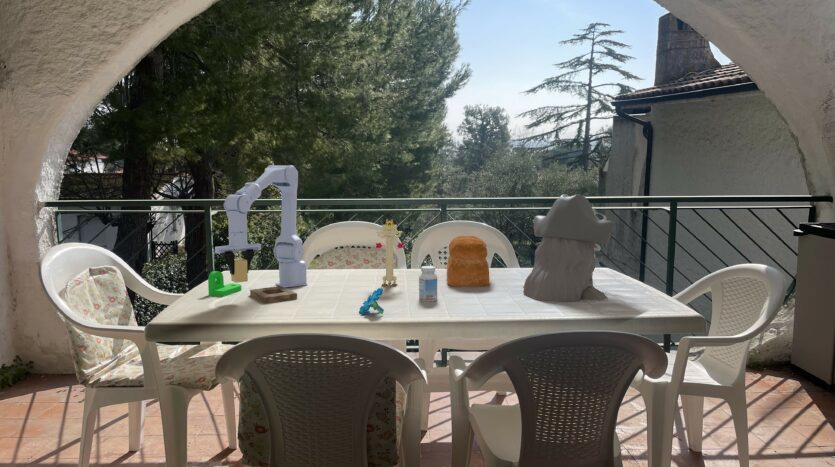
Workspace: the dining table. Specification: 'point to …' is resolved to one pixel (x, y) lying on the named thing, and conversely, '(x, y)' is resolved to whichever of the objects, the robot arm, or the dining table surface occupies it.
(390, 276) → the cat figure
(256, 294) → the brown square frame
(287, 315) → the dining table surface
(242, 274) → the sand colored cuboid
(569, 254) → the bust
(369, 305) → the blue flower
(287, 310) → the dining table surface
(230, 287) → the mechanical part
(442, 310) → the dining table surface
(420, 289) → the pill bottle
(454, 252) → the bread
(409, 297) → the dining table surface
